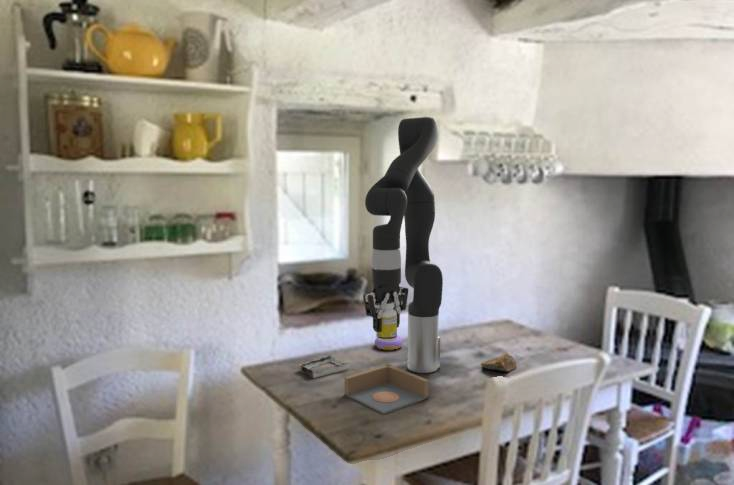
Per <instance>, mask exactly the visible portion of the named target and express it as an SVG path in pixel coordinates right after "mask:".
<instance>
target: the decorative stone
mask: <svg viewBox="0 0 734 485" xmlns="http://www.w3.org/2000/svg"><path fill="white" fill-rule="evenodd" d="M480 365H481V366H482V367H483V368H485V369H487V370H493V371H494V370H495V371H501V372H506V373H507V372H508V373H509V372H511V371H514V370H516V365H517V362H516V360H515V358H514V357H513V355H511V354H509V353H508V352H504V353H503V354H501V355H500V356H498V357H493V358H489V359H487V360H483V361H481V362H480Z"/></svg>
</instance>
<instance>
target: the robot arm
mask: <svg viewBox="0 0 734 485" xmlns="http://www.w3.org/2000/svg"><path fill="white" fill-rule="evenodd" d="M397 129H398V130H397V132H398V133H397V139H398V148H399V155H397V157H395V158H394V159H393V160H392V162H391V163H390V165H389V166H388V168H387V170H386V172H385V173H384V176H382V177H381V178H379V179H378V180H377V181H376V182H375V184H373V185H372V186H371V187H370V189H369V190H368V192H367V193H366V196H365V200H364V202H365V203H364V205H365V208H366V211H367V212H368V213H369V214H370V215H372V216H379V217H380V216H382V217H383V216H385V217H389V221H388V222H387V223H385V224H384V223H383V224H379V225H376V226H374V227H373V229H372V253H371V283H372V284H373V288H372V290H371V292H369V293H364V294H363V303H364V309H365V310H364V311H365V314H366V316H368V317H370V318H372V328H373V331H374V332H375V333H376V332H378V333H379V332H381V331H382V318H381V315H382V312H383V310H384V309H385V306H386V304H387V303H392V302H394V308H393V309H394V310H395V311H396V312H397V329H398V328H399V327H400V326H399V325H400V324H401V316H400V315H401V313H402V311H405V310H408V311H407V312H408V313H407V369H408V370H409V371H411V372H413V373H417V374H418V373H419V374H429V373H433V372H436V371H437V370H438V369H439V368H440V367H441V337H440V336H439V320H440V319H439V315H440V312H439V311H440V307H441V306H442V302H443V301H442V298H443V284H444V282H443V281H444V279H443V272H442V270H441V268H440V267H439V266H438V265H437V264H436V263H433V262H431V259H430V249H429V248H430V247H429V246H430V245H429V242H430V238H431V235H432V234H431V233H432V230H433V227H434V223H435V220H436V203H435V194H434V191H433V189H432V187H431V185H430V184H429V182H428V181H427V180H426V177H425V176H423V174H422V173H421V170H420V167H421V165H423V163H424V161H425V160H426V159H427V158H428V156H430V154H431V153H432V151H433V150H434V149H435V148H436V146H437V143H438V141H439V135H440V130H439V124H438V122H437V121H436V119H435V118H433V117H431V116H421V117H412V118H411V117H410V118H402V119H401V120H400V122H399V124H398V128H397ZM403 221H404V233H405V262H404V277H405V281H406V283H407V284H408V285H409V286H410V287H411V288H412V289H413V297H412V301H411V302H410V303H409V304H408V298H409V288H408V287H404V286H400V284H401V282H402V254H401V232H402V231H401V230H402V225H403ZM379 304H381V306H379ZM407 304H408V305H407ZM377 311H378V312H377Z"/></svg>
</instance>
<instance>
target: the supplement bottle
mask: <svg viewBox="0 0 734 485" xmlns="http://www.w3.org/2000/svg"><path fill="white" fill-rule="evenodd" d="M378 306H381V304H378ZM393 308H394V302H392V303H387V304H386V306H385V309H384V310H383V312H382V315H381V318H382V331H381V332H379V333H378V332H375V333H376V334H375V335H376V338H377V339H378V340H380V341H393V340H395V339H396V338H397V336H398V328H397V312H396V311H395V310H394V309H393ZM377 312H378V310H377Z"/></svg>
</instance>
